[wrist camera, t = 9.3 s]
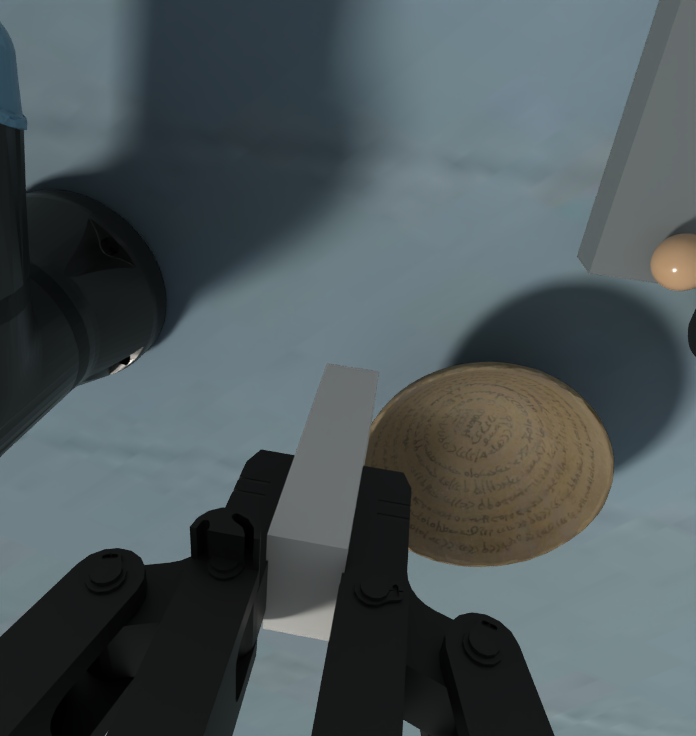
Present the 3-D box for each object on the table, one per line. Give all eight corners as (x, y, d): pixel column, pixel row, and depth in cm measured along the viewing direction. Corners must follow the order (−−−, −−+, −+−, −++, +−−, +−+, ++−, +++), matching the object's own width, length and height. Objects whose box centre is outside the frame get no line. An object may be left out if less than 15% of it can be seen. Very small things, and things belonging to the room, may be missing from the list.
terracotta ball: (634, 275, 36) (652, 294, 33) (654, 223, 34) (675, 238, 31) (688, 283, 36) (711, 303, 33) (711, 230, 34) (737, 247, 31)
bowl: (629, 449, 46) (664, 518, 39) (441, 530, 54) (442, 600, 47) (517, 275, 41) (534, 320, 34) (322, 391, 48) (303, 448, 41)
